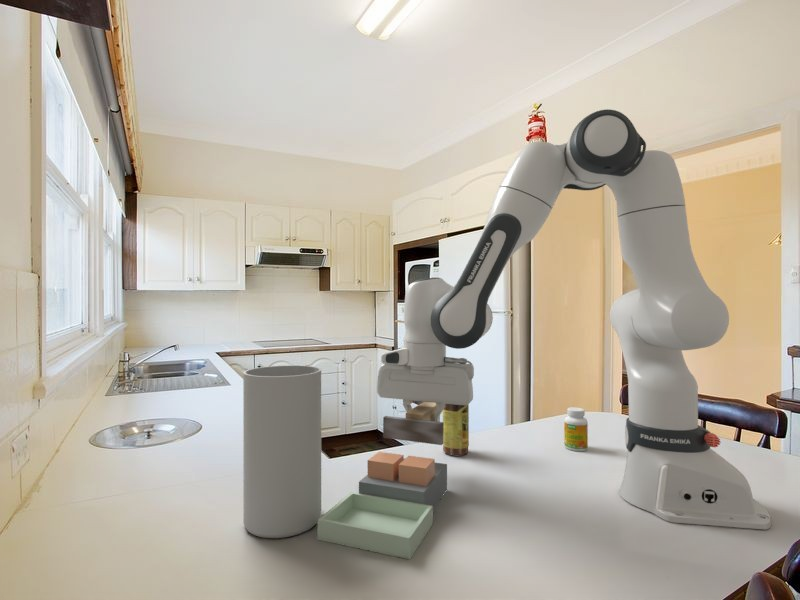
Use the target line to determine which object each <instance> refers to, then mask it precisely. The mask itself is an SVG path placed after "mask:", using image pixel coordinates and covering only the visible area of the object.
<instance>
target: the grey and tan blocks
mask: <svg viewBox="0 0 800 600" xmlns="http://www.w3.org/2000/svg"><path fill="white" fill-rule="evenodd" d="M438 409H439V408H436V403H434V402H423V401H422V402H421V403H419V404H418V405H416V406H414V407H413V408H412V409H411V410H410V411H408V412H407V411H406V412H405V417H397V416H388V415H385V416H383V420H382V421H383V422H382V423H383V424H382V428H383V429H382V436H383V437H382V438H384V439H393V440H397V441H398V440H399V441H407V442H415V443H423V444H430V445H439V446H443V430H444V422H443V421H440V422H436V421H431V415H432V414H436V412H437V410H438Z"/></svg>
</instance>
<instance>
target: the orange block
mask: <svg viewBox="0 0 800 600" xmlns="http://www.w3.org/2000/svg"><path fill="white" fill-rule="evenodd" d="M403 460H404V454H397V453H391V452H383V451H378V452H377V453H375V454H374V455H373V456H371V457H370V458H369V459H368V460H367V475H368V477H370V478H377V479H383V480H390V481H394V480H395V479H396V478H397V477H398V476H399V464H400V463H401V462H402V461H403Z"/></svg>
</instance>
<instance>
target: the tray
mask: <svg viewBox="0 0 800 600" xmlns="http://www.w3.org/2000/svg"><path fill="white" fill-rule="evenodd" d="M433 521H434V509H433V506H431V505H425V504H419V503H413V502H407V501H401V500H396V499H390V498H384V497H378V496H372V495H366V494H360V493H359V492H353V491H350V492H349V493H348V494H347V495H346V496H344V497H343V498H341V500H340V501H338V502H337V503H336V504H335V505H334V506H332V507H331V508H330V509H329V510H327V511H326V513H324V514H323V515H321V517H320V518H319V519H318V522H317V540H318V541H323V542H328V543H333V544H337V545H342V546H347V547H351V548H354V549H359V548H360V550H364V551H368V550H369V552H373V551H374V553H377V552H378V554H382V555H383V554H384V555H387V556H392V557H397V558H401V559H406V560H410V559H411V558H412V556H413V554H414V553H416V551H417V549H418V547H419V546H420V545H421V543H422V542H423V540H424V539H425V537H426V535H427V533H429V531H430V530H431V528H432V526H433V525H432V524H434V522H433Z"/></svg>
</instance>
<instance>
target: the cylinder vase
mask: <svg viewBox="0 0 800 600" xmlns="http://www.w3.org/2000/svg"><path fill="white" fill-rule="evenodd" d="M242 382H243V387H242V389H243V395H242V396H243V397H242V398H243V405H242V406H243V407H242V408H243V409H242V410H243V416H242V417H243V426H242V427H243V428H242V429H243V433H242V434H243V437H242V438H243V439H242V441H243V446H242V447H243V448H242V449H243V453H242V454H243V456H242V457H243V458H242V459H243V462H242V463H243V466H242V467H243V470H242V471H243V473H242V474H243V496H242V497H243V500H242V501H243V508H242V509H243V514H242V515H243V518H242V519H243V525H244V527H245V529H246V531H247V532H248V533H250V534H251V535H253V536H257V537H259V538H263V539H265V538H266V539H282V538H289V537H294V536H297V535H300V534H302V533H305V532H308V531H309V530H311V529H312V528H313V527H315V525H316V524H318V519H319V518H320V517H322V368H320V367H317V366H311V365H272V366H261V367H255V368H250V369H246V370H244V371H243V381H242Z"/></svg>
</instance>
